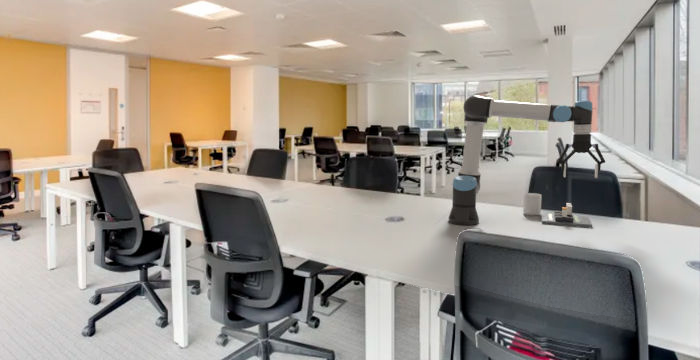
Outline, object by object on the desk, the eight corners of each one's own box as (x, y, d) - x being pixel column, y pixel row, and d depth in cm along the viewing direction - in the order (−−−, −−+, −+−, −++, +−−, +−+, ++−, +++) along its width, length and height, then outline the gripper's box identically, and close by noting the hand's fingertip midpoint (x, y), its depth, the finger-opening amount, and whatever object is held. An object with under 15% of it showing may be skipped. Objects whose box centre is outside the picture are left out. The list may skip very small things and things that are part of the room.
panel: (542, 223, 210) (542, 216, 209) (541, 216, 226) (542, 209, 225) (592, 227, 201) (592, 220, 200) (588, 219, 217) (588, 213, 216)
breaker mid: (566, 214, 212) (567, 206, 212) (566, 213, 215) (567, 205, 214) (571, 214, 211) (572, 206, 211) (571, 213, 214) (571, 205, 213)
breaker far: (566, 212, 218) (566, 204, 217) (565, 211, 220) (566, 203, 220) (570, 212, 217) (571, 204, 216) (570, 211, 219) (570, 203, 219)
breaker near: (562, 216, 208) (562, 208, 207) (561, 215, 210) (562, 207, 210) (566, 217, 207) (567, 208, 206) (566, 215, 209) (566, 207, 209)
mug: (540, 216, 225) (541, 196, 224) (522, 214, 229) (523, 195, 228) (541, 212, 236) (542, 192, 234) (524, 210, 240) (525, 191, 238)
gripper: (554, 134, 201) (552, 177, 204) (613, 133, 192) (611, 178, 195) (552, 133, 208) (551, 175, 211) (610, 132, 199) (608, 176, 202)
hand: (580, 177), depth 203 cm, fingers open, 13 cm apart
